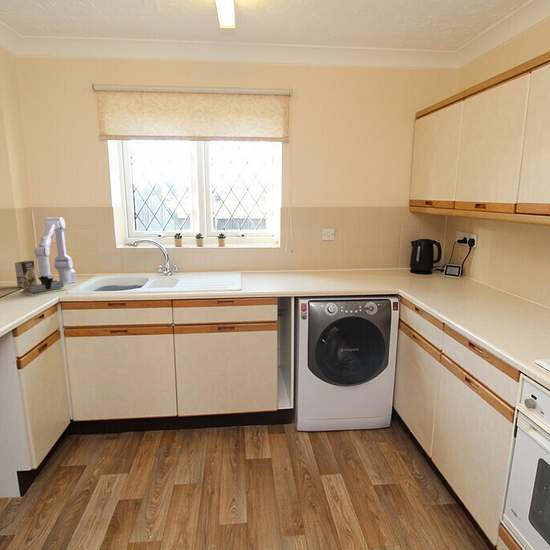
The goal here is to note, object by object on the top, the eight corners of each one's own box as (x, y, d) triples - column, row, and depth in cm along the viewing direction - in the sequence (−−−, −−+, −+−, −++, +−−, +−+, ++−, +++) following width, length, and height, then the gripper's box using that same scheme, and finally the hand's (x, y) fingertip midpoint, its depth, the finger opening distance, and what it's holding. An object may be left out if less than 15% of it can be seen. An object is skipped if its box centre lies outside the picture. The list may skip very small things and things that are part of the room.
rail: (61, 286, 249) (60, 280, 248) (63, 287, 247) (63, 281, 246) (29, 291, 235) (28, 286, 235) (31, 292, 233) (31, 287, 233)
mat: (61, 287, 252) (61, 286, 251) (67, 289, 246) (67, 288, 246) (26, 294, 237) (26, 293, 236) (31, 296, 231) (31, 295, 231)
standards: (54, 286, 257) (53, 278, 256) (59, 287, 251) (58, 280, 250) (22, 291, 243) (21, 283, 242) (28, 293, 238) (26, 285, 237)
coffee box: (26, 288, 251) (22, 263, 248) (17, 287, 253) (13, 262, 249) (37, 285, 260) (34, 260, 257) (28, 284, 261) (25, 260, 258)
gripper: (32, 266, 240) (35, 288, 243) (41, 269, 231) (44, 291, 234) (44, 264, 245) (47, 286, 248) (54, 267, 236) (57, 289, 239)
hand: (47, 288), depth 241 cm, fingers closed on rail, 3 cm apart
